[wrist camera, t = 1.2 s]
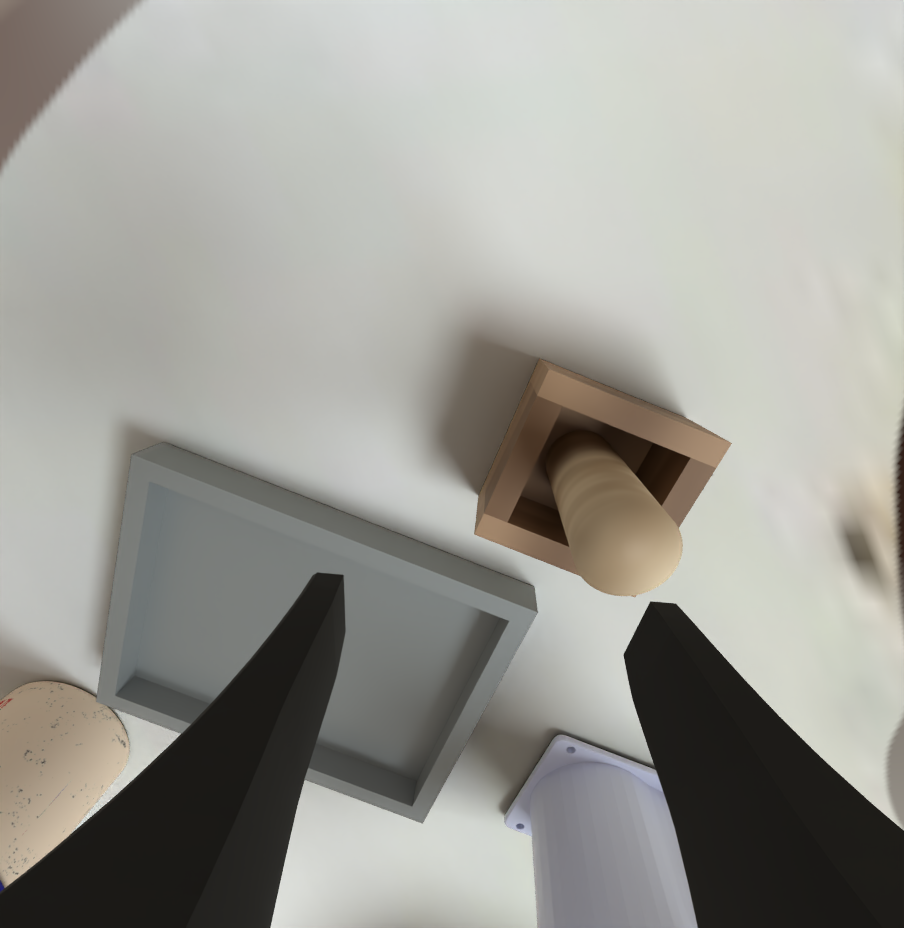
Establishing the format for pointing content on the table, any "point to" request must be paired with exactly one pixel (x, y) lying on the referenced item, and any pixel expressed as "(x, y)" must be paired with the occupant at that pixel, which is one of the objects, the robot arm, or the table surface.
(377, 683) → the tray
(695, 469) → the wooden roll holder
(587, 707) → the table surface
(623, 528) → the dowel
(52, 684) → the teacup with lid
